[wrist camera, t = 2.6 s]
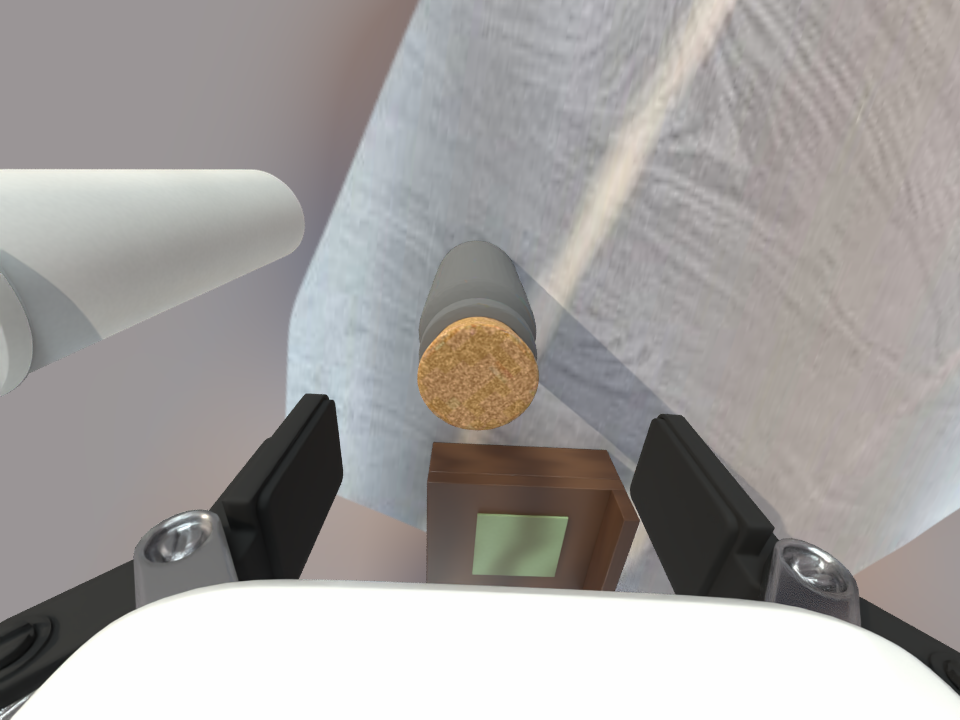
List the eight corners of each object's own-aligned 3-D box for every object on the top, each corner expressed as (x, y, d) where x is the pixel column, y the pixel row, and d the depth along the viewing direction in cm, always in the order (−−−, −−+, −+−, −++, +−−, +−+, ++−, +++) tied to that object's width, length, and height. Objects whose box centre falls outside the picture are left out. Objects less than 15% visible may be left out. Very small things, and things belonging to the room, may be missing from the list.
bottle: (422, 260, 27) (373, 347, 14) (498, 225, 26) (522, 284, 13) (457, 329, 30) (443, 460, 16) (527, 300, 29) (573, 414, 15)
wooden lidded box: (431, 546, 41) (422, 626, 34) (433, 441, 35) (422, 512, 28) (579, 551, 42) (601, 631, 34) (606, 449, 35) (640, 520, 28)
